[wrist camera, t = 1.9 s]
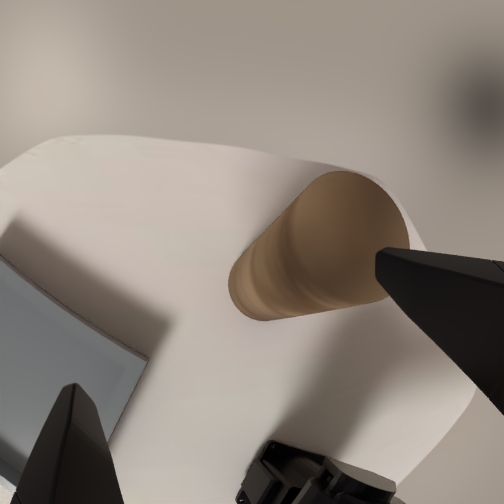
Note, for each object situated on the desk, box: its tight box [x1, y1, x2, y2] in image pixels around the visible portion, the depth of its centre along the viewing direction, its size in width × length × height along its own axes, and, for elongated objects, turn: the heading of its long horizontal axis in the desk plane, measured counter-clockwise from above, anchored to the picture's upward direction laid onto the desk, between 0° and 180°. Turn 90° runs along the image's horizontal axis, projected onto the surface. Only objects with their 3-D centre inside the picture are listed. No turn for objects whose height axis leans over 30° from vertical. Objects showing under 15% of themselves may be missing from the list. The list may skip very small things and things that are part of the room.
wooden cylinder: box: [228, 171, 410, 321], centre depth 18 cm, size 6×6×13 cm
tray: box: [0, 255, 149, 494], centre depth 16 cm, size 16×16×3 cm
